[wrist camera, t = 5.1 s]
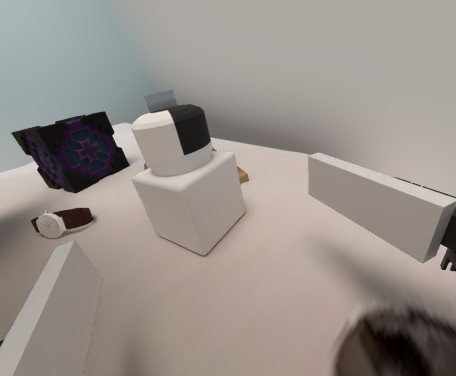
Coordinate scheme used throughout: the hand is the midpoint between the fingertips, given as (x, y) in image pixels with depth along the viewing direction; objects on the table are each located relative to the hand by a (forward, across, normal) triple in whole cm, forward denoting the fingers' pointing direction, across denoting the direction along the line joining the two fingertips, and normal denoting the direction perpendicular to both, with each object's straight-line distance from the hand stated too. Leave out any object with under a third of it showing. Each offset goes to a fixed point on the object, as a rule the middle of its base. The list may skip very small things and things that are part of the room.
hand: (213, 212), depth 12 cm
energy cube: (+41, -18, -7) cm, 45 cm away
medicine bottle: (+9, 0, -7) cm, 12 cm away
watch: (+20, -16, -7) cm, 27 cm away
